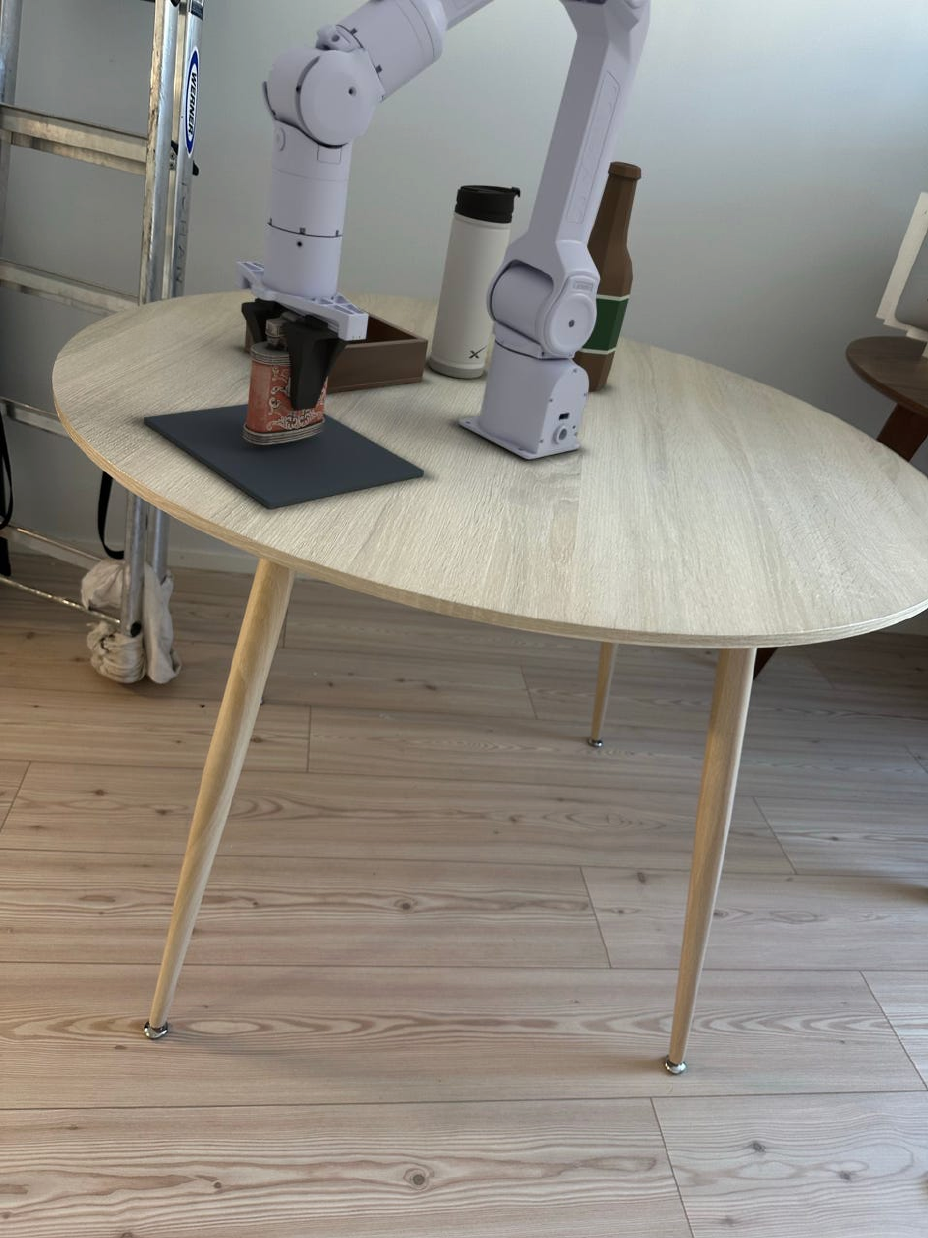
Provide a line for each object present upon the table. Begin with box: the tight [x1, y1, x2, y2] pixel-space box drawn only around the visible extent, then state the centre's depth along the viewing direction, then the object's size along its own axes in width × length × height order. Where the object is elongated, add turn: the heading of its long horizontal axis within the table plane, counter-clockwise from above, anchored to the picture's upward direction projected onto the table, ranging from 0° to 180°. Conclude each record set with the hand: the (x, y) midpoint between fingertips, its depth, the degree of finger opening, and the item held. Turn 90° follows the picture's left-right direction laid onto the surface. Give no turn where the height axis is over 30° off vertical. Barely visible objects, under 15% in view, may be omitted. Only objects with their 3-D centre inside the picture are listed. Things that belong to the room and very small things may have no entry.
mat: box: [143, 403, 425, 510], centre depth 84 cm, size 18×16×1 cm
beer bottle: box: [571, 160, 642, 392], centre depth 112 cm, size 8×8×24 cm
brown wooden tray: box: [243, 306, 429, 394], centre depth 105 cm, size 14×14×4 cm
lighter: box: [243, 312, 328, 445], centre depth 81 cm, size 8×3×10 cm, turn 141°
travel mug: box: [428, 184, 521, 380], centre depth 108 cm, size 6×7×20 cm
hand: (289, 399), depth 82 cm, fingers closed on lighter, 3 cm apart
